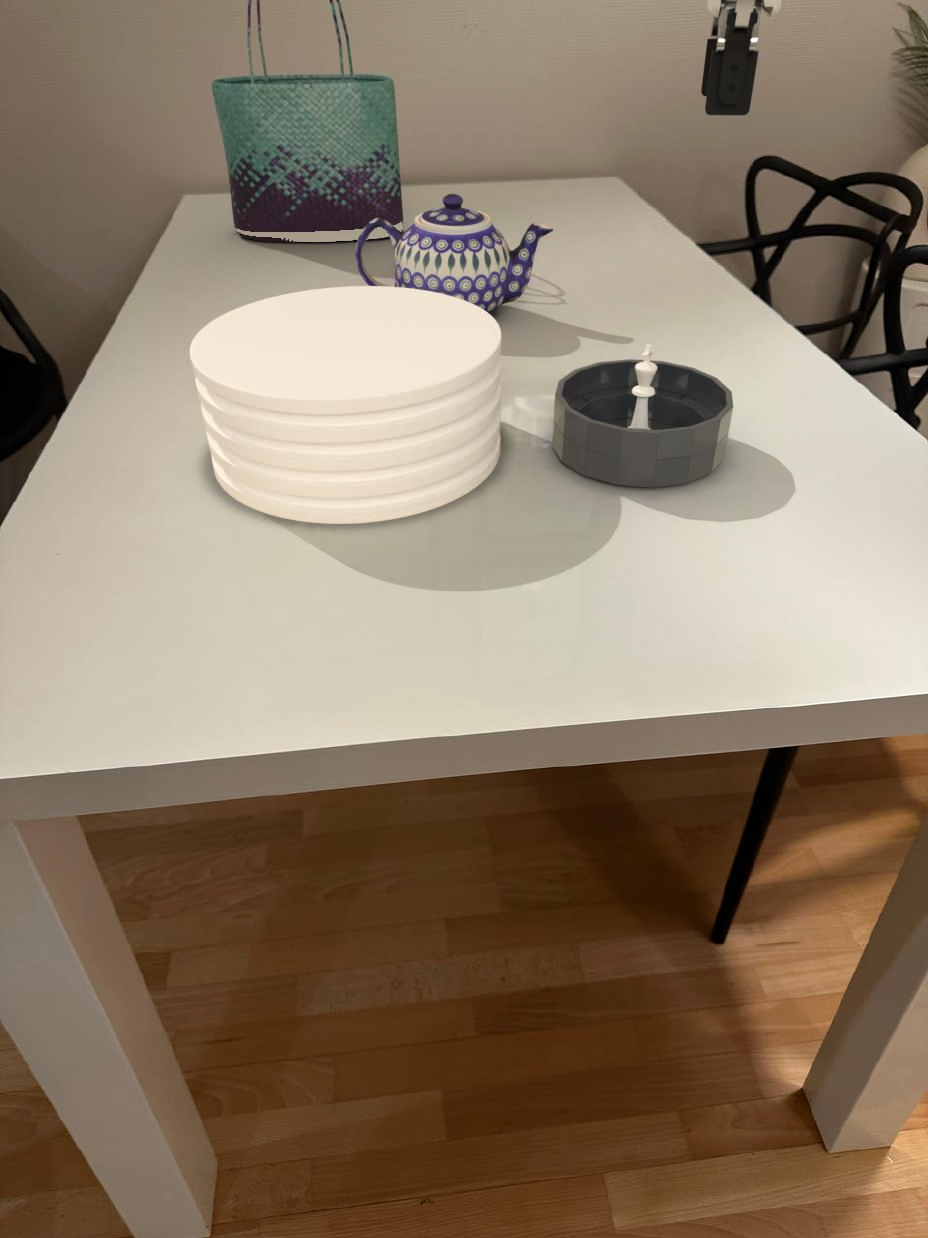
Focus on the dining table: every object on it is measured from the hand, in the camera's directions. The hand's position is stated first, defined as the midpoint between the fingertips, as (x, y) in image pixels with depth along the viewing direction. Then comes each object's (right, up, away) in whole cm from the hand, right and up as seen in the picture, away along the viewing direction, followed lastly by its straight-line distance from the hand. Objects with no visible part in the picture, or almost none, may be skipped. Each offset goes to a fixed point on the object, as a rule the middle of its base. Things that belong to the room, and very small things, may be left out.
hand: (723, 104), depth 70 cm
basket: (-45, +24, +80) cm, 94 cm away
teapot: (-22, -1, +48) cm, 53 cm away
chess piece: (-4, -24, +16) cm, 29 cm away
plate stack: (-31, -24, +18) cm, 43 cm away
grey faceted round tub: (-4, -24, +17) cm, 30 cm away
